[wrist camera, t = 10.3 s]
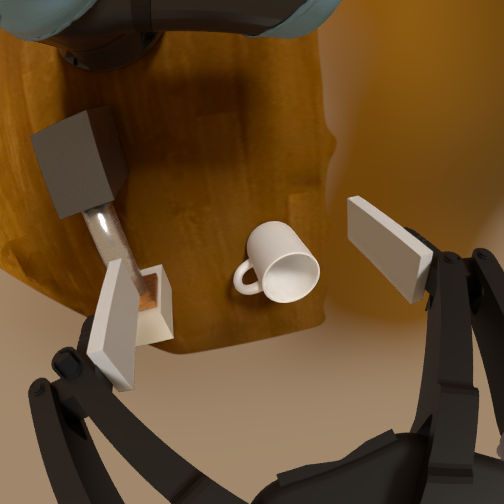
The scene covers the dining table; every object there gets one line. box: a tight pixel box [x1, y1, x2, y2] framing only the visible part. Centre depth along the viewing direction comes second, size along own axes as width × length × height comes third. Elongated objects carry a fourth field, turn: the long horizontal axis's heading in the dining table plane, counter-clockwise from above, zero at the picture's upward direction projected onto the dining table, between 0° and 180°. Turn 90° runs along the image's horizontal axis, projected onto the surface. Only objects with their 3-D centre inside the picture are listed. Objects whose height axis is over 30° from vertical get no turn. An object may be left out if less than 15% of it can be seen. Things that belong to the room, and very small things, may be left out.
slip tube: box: [81, 201, 158, 311], centre depth 35 cm, size 20×6×6 cm, turn 10°
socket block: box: [136, 264, 174, 347], centre depth 42 cm, size 5×7×12 cm
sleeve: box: [30, 105, 129, 219], centre depth 30 cm, size 10×7×11 cm
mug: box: [233, 221, 320, 303], centre depth 44 cm, size 12×8×10 cm
